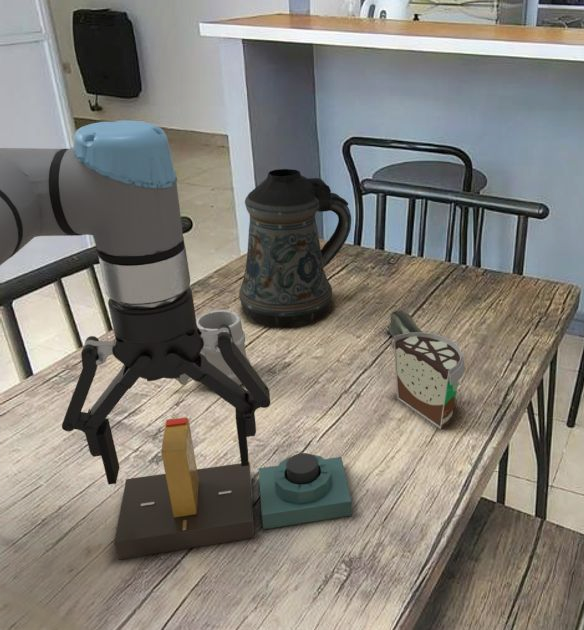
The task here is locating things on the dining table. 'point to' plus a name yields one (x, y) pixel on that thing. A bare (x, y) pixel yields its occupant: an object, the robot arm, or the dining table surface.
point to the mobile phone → (401, 324)
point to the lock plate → (186, 531)
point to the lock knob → (180, 467)
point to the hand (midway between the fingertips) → (180, 467)
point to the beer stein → (289, 250)
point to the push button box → (304, 495)
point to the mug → (212, 323)
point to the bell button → (302, 468)
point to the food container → (428, 374)
